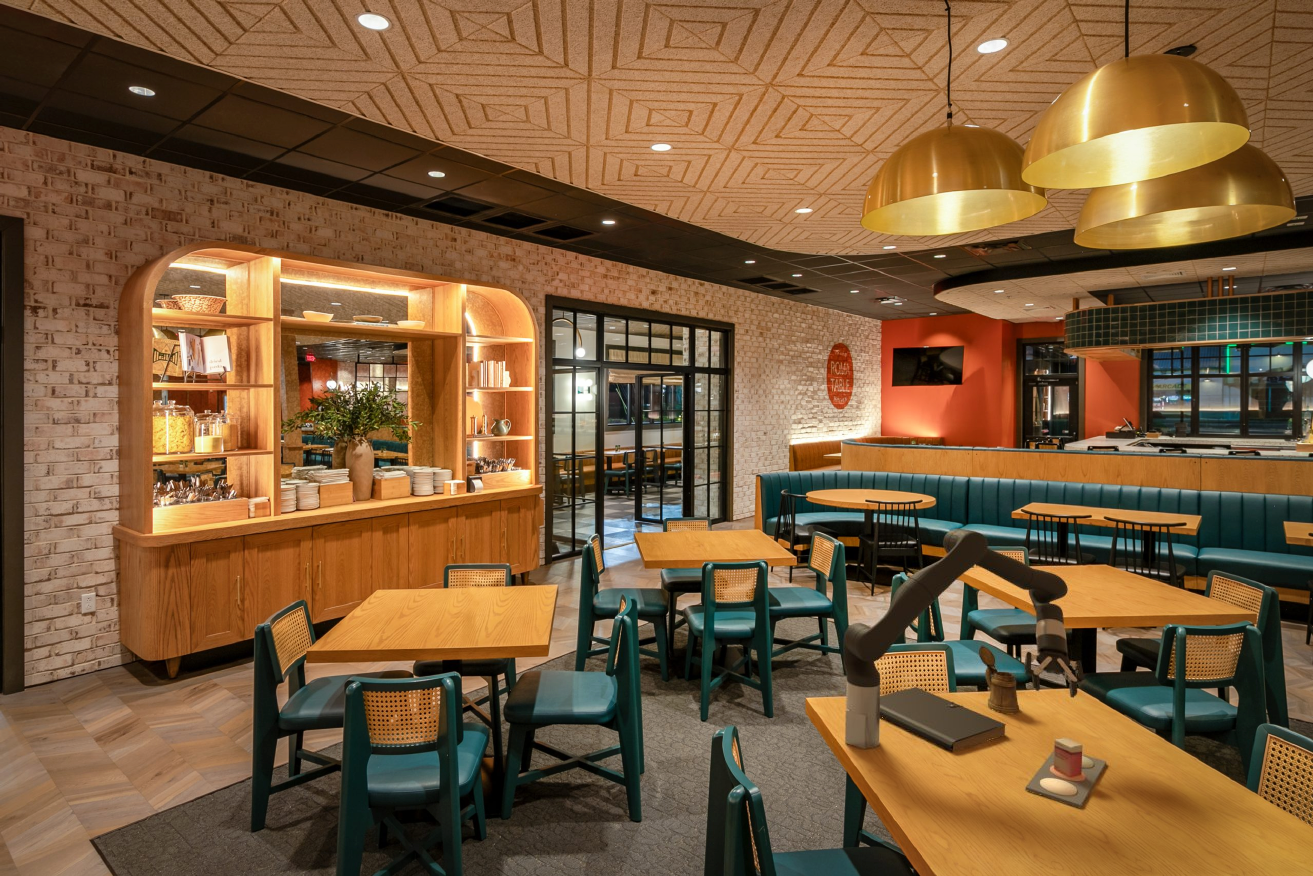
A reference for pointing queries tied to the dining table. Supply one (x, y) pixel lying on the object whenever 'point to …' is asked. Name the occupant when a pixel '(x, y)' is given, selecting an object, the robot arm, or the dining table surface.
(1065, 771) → the small box
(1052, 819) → the dining table surface
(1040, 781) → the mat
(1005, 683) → the wooden mug
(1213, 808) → the dining table surface
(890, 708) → the file folder
